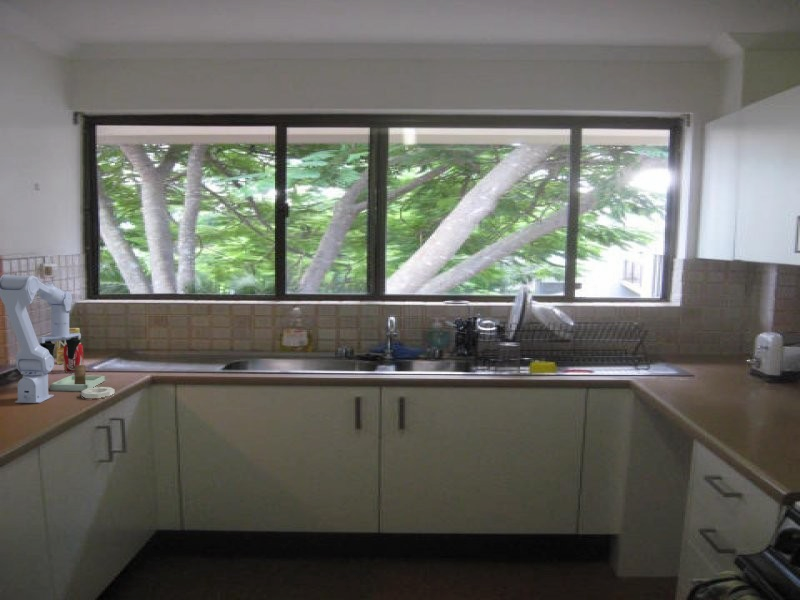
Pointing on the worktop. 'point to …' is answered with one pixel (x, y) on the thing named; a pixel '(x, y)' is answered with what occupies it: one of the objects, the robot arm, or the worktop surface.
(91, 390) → the white octagonal ring
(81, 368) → the dowel pin
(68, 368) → the soda can
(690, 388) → the worktop surface
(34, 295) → the robot arm
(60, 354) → the candy box
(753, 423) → the worktop surface
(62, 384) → the tray
